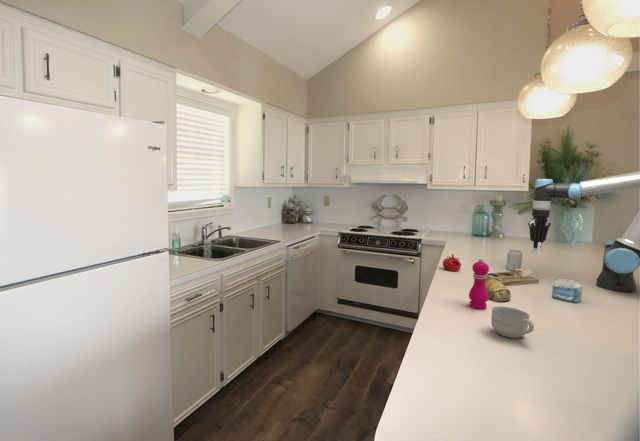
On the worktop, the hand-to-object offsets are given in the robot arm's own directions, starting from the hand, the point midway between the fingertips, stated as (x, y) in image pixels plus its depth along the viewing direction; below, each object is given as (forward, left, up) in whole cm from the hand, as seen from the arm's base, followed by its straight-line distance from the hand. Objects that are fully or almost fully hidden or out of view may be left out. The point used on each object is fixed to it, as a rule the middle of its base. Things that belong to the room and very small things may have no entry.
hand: (536, 254), depth 178 cm
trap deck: (+3, +15, -14) cm, 21 cm away
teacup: (-51, +68, -14) cm, 86 cm away
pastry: (-17, +43, -14) cm, 48 cm away
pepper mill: (-26, +59, -14) cm, 66 cm away
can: (+20, -8, -14) cm, 26 cm away
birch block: (0, +8, -12) cm, 15 cm away
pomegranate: (+28, +29, -14) cm, 43 cm away
